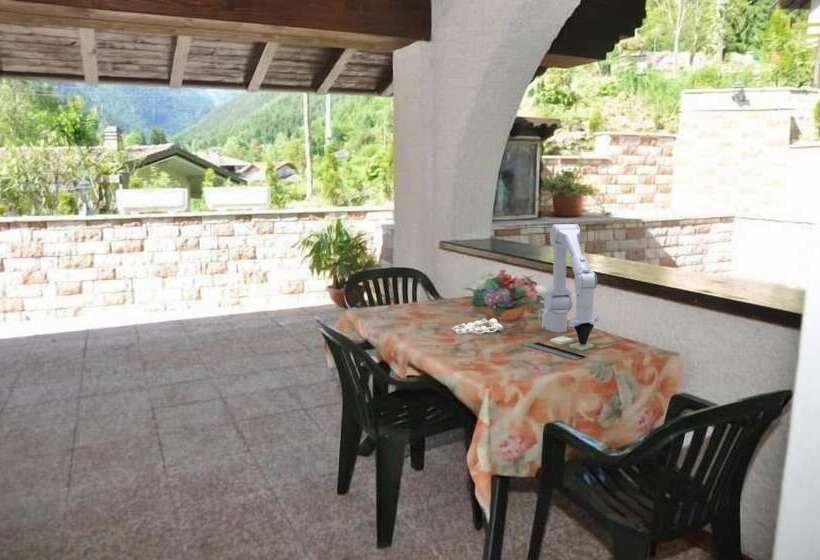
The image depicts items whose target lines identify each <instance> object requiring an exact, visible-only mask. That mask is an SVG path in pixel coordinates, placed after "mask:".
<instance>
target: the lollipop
mask: <svg viewBox="0 0 820 560" xmlns="http://www.w3.org/2000/svg"><path fill="white" fill-rule="evenodd" d="M535 287H536V290H537V292H538V294H539V295H540V296H541V297H542V298H543V299H545V296H546V291H548V290H547V288H546V287H545V286H542V285H537V286H535ZM540 318H541V308H540V309H539V308H538V320H540Z"/></svg>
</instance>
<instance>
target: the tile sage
mask: <svg viewBox="0 0 820 560" xmlns="http://www.w3.org/2000/svg"><path fill="white" fill-rule="evenodd" d="M569 348H571V349H575V350H578V351H583V350H584V351H585V350H587V349H591V348H594V344H590V343H586V344H580V343H579V342H575V343H570V344H569Z"/></svg>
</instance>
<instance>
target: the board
mask: <svg viewBox="0 0 820 560" xmlns="http://www.w3.org/2000/svg"><path fill="white" fill-rule="evenodd" d="M561 336H564V337H568V338H572V339H574V340H573V342H575V343H578V342H579V339H578V335H577V332H576V330H575V331H572V332H568V333H564V334H560V335H556V338H557V337H561ZM587 343H590V344H594V347H595V348H598V349H603V348H605V347H609V346H613V345H617V344H620V343H624V340H619V339H615V338H611V337H606V336H603V335H599V334H594V333H591V332H590V334H589V337H588V340H587ZM594 347H593V348H594Z"/></svg>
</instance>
